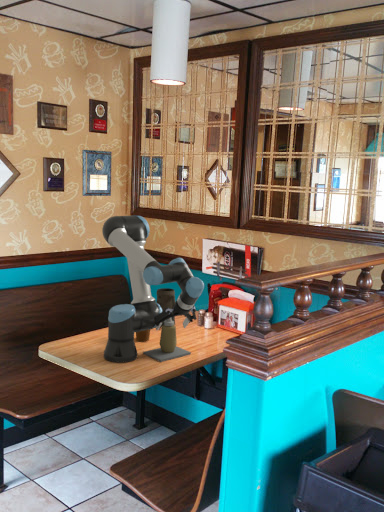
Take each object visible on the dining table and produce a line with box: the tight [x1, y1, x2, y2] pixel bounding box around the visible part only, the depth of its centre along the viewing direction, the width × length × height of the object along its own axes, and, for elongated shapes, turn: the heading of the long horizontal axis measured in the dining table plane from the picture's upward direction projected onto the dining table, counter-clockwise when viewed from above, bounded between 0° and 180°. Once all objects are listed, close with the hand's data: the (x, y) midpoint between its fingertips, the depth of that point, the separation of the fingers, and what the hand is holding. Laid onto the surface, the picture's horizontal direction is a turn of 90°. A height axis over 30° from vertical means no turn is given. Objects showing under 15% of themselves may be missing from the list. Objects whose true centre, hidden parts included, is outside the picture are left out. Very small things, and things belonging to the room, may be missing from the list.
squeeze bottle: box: [159, 318, 178, 353], centre depth 248 cm, size 8×8×18 cm
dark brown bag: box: [156, 287, 176, 327], centre depth 291 cm, size 15×11×20 cm
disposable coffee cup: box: [135, 329, 152, 343], centre depth 266 cm, size 10×10×12 cm
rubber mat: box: [142, 345, 192, 363], centre depth 248 cm, size 18×13×1 cm
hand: (170, 326), depth 246 cm, fingers open, 13 cm apart
